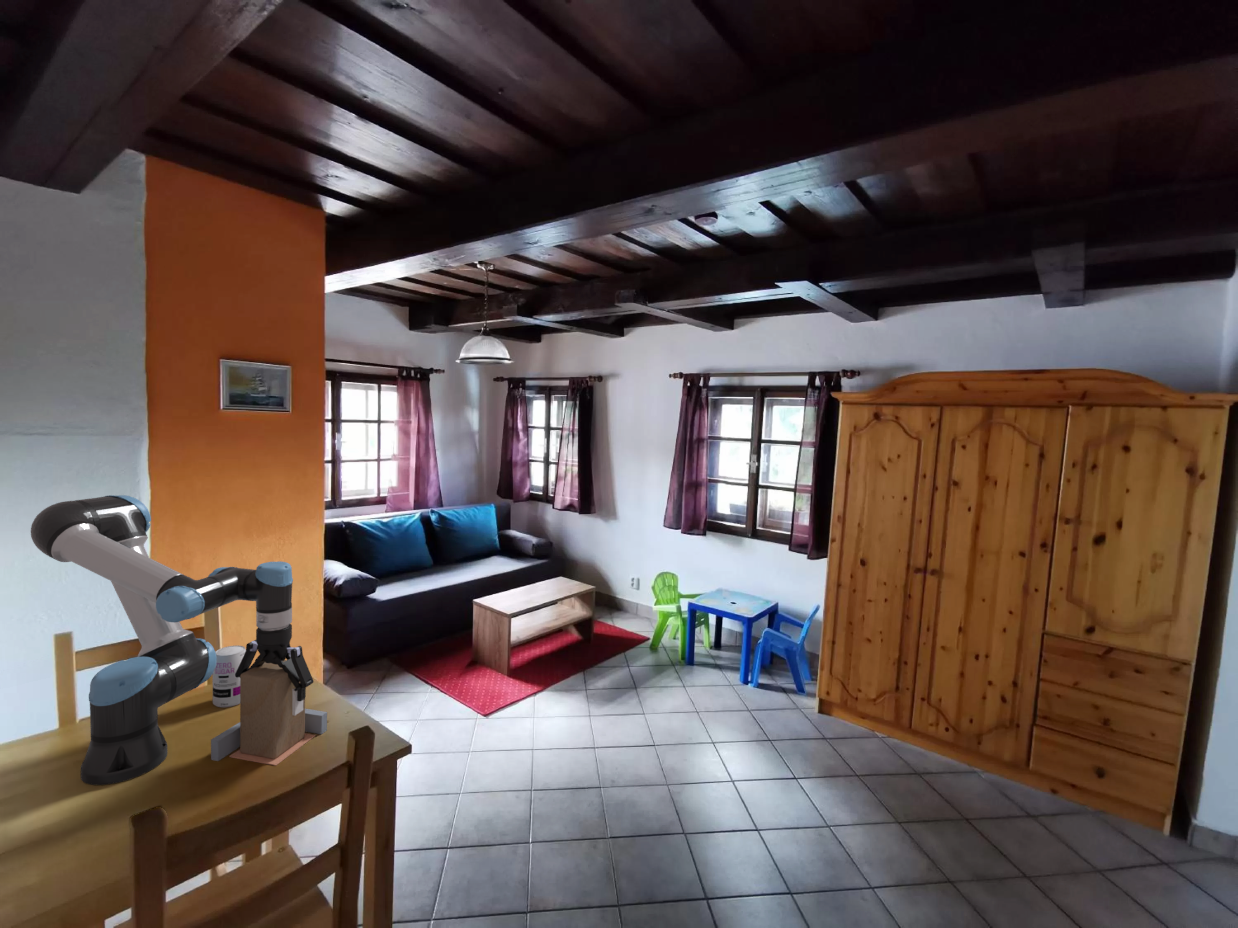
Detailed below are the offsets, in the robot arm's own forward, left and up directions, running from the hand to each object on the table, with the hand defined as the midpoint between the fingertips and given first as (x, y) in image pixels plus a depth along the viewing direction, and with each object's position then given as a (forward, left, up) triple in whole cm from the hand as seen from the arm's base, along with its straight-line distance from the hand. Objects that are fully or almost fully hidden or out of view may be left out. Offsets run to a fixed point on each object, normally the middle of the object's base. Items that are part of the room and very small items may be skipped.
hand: (274, 708), depth 139 cm
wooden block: (0, 0, -10) cm, 10 cm away
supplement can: (-28, +15, -10) cm, 33 cm away
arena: (-2, +1, -10) cm, 10 cm away
